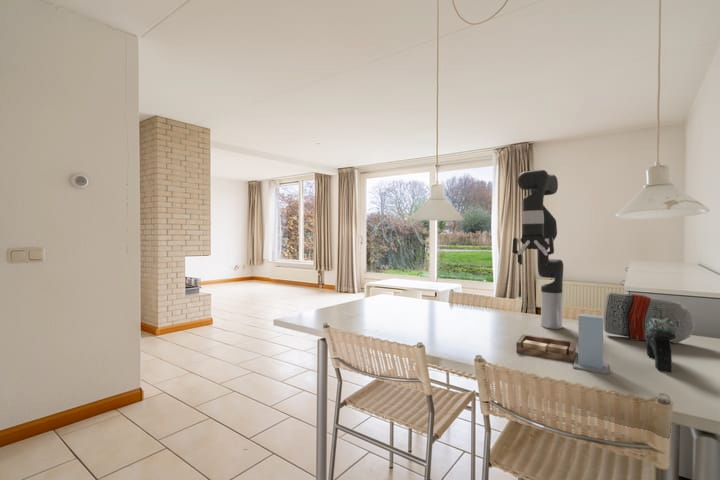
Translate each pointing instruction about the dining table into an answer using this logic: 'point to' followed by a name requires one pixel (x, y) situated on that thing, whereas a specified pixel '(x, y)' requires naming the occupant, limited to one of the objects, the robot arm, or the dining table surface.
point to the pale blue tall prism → (590, 340)
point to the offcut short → (558, 349)
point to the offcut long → (535, 345)
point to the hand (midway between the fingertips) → (532, 264)
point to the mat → (589, 368)
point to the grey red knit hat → (644, 315)
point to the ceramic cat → (660, 341)
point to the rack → (569, 344)
